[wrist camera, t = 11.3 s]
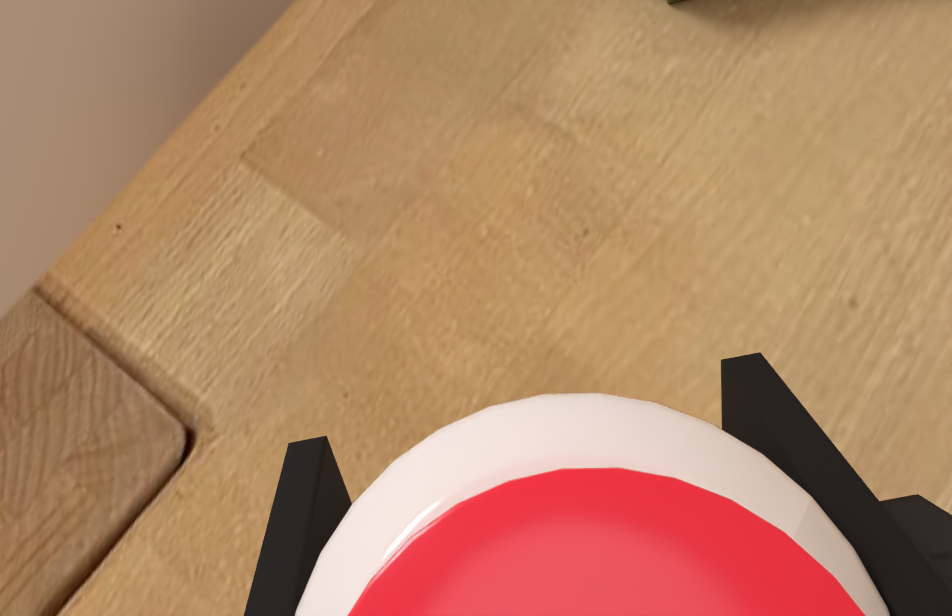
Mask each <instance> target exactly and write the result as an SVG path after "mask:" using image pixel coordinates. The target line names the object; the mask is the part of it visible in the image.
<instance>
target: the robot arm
mask: <svg viewBox="0 0 952 616" xmlns="http://www.w3.org/2000/svg"><path fill="white" fill-rule="evenodd" d="M721 391H722V430H723V431H725V432H727V433H728V434H730V435H732V436H733V437H735V438H737V439H739V440H740V441H742V442H744V443H745V444H747V445H749V446H750V447H752V448H754V449H755V450H757V451H759V452H760V453H762V454H763V455H764V456H765V457H767V458H768V459H769V460H770V461H771V462H772V463H773V464H775V465H776V466H777V467H778V468H779V469H780V470H782V471H783V472H784V473H785V474H786V475H787V476H788V477H790V478H791V479H792V480H793V481H794V482H795V483H797V484H798V485H799V486H800V487H801V488H802V489H803V490H805V491H806V492H807V493H808V494H809V495H810V496H812V498H813V499H814V500H815V501H816V503H817V504H818V505H819V506H820V507H821V509H822V510H823V511H824V512H825V514H826V515H827V516H828V517H829V518H830V520H831V521H832V522H833V523H834V525H835V526H836V527H837V528H838V530H839V531H840V532H841V533H842V534H843V536H844V537H845V538H846V539H847V541H848V542H849V543H850V544H851V545H852V547H853V548H854V550H855V551H856V553H857V555H858V557H859V558H860V560H861V562H862V564H863V566H864V567H865V569H866V571H867V573H868V574H869V576H870V578H871V580H872V582H873V583H874V585H875V587H876V589H877V590H878V592H879V594H880V596H881V598H882V599H883V601H884V603H885V605H886V606H887V608H888V611H889V614H890V616H952V515H950V514H949V513H947V512H946V511H944V510H942V509H941V508H939V507H938V506H936V505H934V504H933V503H931V502H930V501H928V500H926V499H925V498H923V497H922V496H920V495H918V494H917V495H911V496H906V497H900V498H895V499H889V500H884V501H879V500H878V499H877V498H876V497H875V495H874V494H873V493H872V492H871V490H870V489H869V488H868V487H867V485H866V484H865V483H864V482H863V480H862V479H861V478H860V477H859V475H858V474H857V473H856V472H855V470H854V469H853V468H852V467H851V465H850V464H849V463H848V462H847V460H846V459H845V458H844V457H843V455H842V454H841V453H840V452H839V450H838V449H837V448H836V447H835V445H834V444H833V443H832V442H831V440H830V439H829V438H828V437H827V435H826V434H825V433H824V432H823V430H822V429H821V428H820V427H819V425H818V424H817V423H816V422H815V420H814V419H813V418H812V417H811V415H810V414H809V413H808V412H807V410H806V409H805V408H804V407H803V405H802V404H801V403H800V402H799V400H798V399H797V398H796V397H795V395H794V394H793V393H792V392H791V390H790V389H789V388H788V387H787V385H786V384H785V383H784V382H783V380H782V379H781V378H780V377H779V375H778V374H777V373H776V372H775V370H774V369H773V368H772V367H771V365H770V364H769V363H768V362H767V360H766V359H765V358H764V356H763V355H762V354H761V353H754V354H749V355H744V356H739V357H734V358H728V359H723V360H721ZM351 505H352V503H351V500H350V497H349V495H348V492H347V489H346V487H345V484H344V481H343V479H342V476H341V473H340V471H339V468H338V465H337V463H336V460H335V457H334V455H333V452H332V449H331V447H330V444H329V441H328V439H327V436H323V437H318V438H313V439H308V440H302V441H297V442H292V443H289V444H288V448H287V452H286V456H285V459H284V463H283V467H282V471H281V475H280V479H279V483H278V486H277V490H276V494H275V498H274V502H273V506H272V509H271V513H270V517H269V521H268V525H267V529H266V533H265V536H264V540H263V544H262V548H261V552H260V556H259V559H258V563H257V567H256V571H255V575H254V579H253V583H252V586H251V590H250V594H249V598H248V602H247V606H246V609H245V613H244V616H295V613H296V609H297V607H298V605H299V602H300V600H301V597H302V595H303V593H304V590H305V588H306V586H307V583H308V581H309V579H310V576H311V574H312V572H313V569H314V567H315V564H316V562H317V560H318V557H319V555H320V553H321V551H322V549H323V548H324V546H325V545H326V543H327V542H328V540H329V539H330V537H331V536H332V534H333V532H334V531H335V529H336V528H337V526H338V525H339V523H340V522H341V520H342V519H343V517H344V516H345V514H346V513H347V511H348V510H349V508H350V507H351Z"/></svg>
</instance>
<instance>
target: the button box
mask: <svg viewBox="0 0 952 616" xmlns="http://www.w3.org/2000/svg"><path fill="white" fill-rule="evenodd" d="M679 1H684V0H667V2H668V3H669V4H670V3H675V2H679Z"/></svg>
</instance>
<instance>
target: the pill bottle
mask: <svg viewBox="0 0 952 616" xmlns="http://www.w3.org/2000/svg"><path fill="white" fill-rule="evenodd" d="M295 616H890V614H889V611H888V608H887V606H886V605H885V603H884V601H883V599H882V598H881V596H880V594H879V592H878V590H877V589H876V587H875V585H874V583H873V582H872V580H871V578H870V576H869V574H868V573H867V571H866V569H865V567H864V566H863V564H862V562H861V560H860V558H859V557H858V555H857V553H856V551H855V550H854V548H853V547H852V545H851V544H850V543H849V542H848V541H847V539H846V538H845V537H844V536H843V534H842V533H841V532H840V531H839V530H838V528H837V527H836V526H835V525H834V523H833V522H832V521H831V520H830V518H829V517H828V516H827V515H826V514H825V512H824V511H823V510H822V509H821V507H820V506H819V505H818V504H817V503H816V501H815V500H814V499H813V498H812V496H810V495H809V494H808V493H807V492H806V491H805V490H803V489H802V488H801V487H800V486H799V485H798V484H797V483H795V482H794V481H793V480H792V479H791V478H790V477H788V476H787V475H786V474H785V473H784V472H783V471H782V470H780V469H779V468H778V467H777V466H776V465H775V464H773V463H772V462H771V461H770V460H769V459H768V458H767V457H765V456H764V455H763V454H762V453H760V452H759V451H757V450H755V449H754V448H752V447H750V446H749V445H747V444H745V443H744V442H742V441H740V440H739V439H737V438H735V437H733V436H732V435H730V434H728V433H727V432H725V431H723V430H722V429H720V428H718V427H717V426H715V425H713V424H712V423H710V422H708V421H705V420H702V419H700V418H697V417H694V416H691V415H689V414H686V413H683V412H681V411H678V410H675V409H672V408H670V407H667V406H664V405H662V404H659V403H656V402H652V401H646V400H640V399H634V398H628V397H622V396H616V395H610V394H604V393H598V392H597V393H560V394H540V395H536V396H532V397H527V398H523V399H518V400H514V401H510V402H505V403H501V404H496V405H492V406H488V407H486V408H484V409H482V410H479V411H477V412H475V413H473V414H470V415H468V416H466V417H464V418H461V419H459V420H457V421H455V422H452V423H450V424H448V425H446V426H444V427H441V428H439V429H438V430H436V431H435V432H433V433H432V434H430V435H429V436H428V437H426V438H425V439H423V440H422V441H421V442H419V443H418V444H416V445H415V446H413V447H412V448H411V449H409V450H408V451H406V452H405V453H404V454H402V455H401V456H399V457H398V458H396V459H395V460H394V461H393V462H392V463H391V464H390V465H389V466H388V467H387V468H386V469H385V470H384V471H383V472H382V473H381V474H380V475H379V476H378V477H377V478H376V479H375V480H374V481H373V482H372V483H371V484H370V485H369V486H368V487H367V489H366V490H365V491H364V492H363V493H362V494H361V495H360V496H359V497H358V498H357V499H356V500H355V501H354V502H353V504H352V505H351V507H350V508H349V510H348V511H347V513H346V514H345V516H344V517H343V519H342V520H341V522H340V523H339V525H338V526H337V528H336V529H335V531H334V532H333V534H332V536H331V537H330V539H329V540H328V542H327V543H326V545H325V546H324V548H323V549H322V551H321V553H320V555H319V557H318V560H317V562H316V564H315V567H314V569H313V572H312V574H311V576H310V579H309V581H308V583H307V586H306V588H305V590H304V593H303V595H302V597H301V600H300V602H299V605H298V607H297V609H296V613H295Z"/></svg>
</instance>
